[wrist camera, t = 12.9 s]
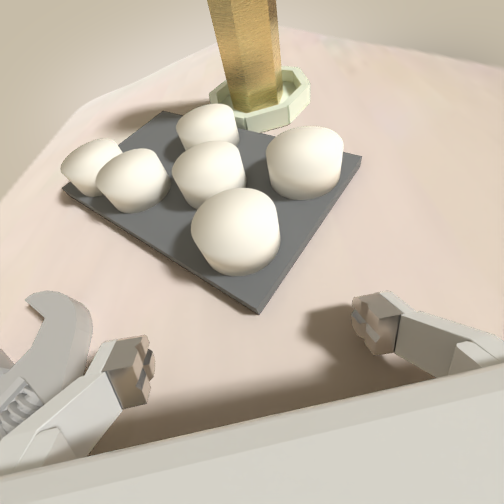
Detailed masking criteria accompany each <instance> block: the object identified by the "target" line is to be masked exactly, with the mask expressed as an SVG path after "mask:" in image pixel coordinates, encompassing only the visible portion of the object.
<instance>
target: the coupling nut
mask: <svg viewBox="0 0 504 504" xmlns="http://www.w3.org/2000/svg"><path fill="white" fill-rule="evenodd" d="M207 2H208V6H209V10H210V14H211V18H212V22H213V26H214V31H215V34H216V39H217V43H218V47H219V51H220V55H221V59H222V63H223V67H224V71H225V75H226V80H227V84H228V88H229V92H230V96H231V100H232V104H233V108H234V109H235V110H238V111H241V112H244V113H250V112H253V111H257V110H260V109H264V108H267V107H271V106H274V105H278V104H279V103H280V100H281V97H282V94H283V82H282V70H281V57H280V45H279V33H278V21H277V9H276V0H207Z"/></svg>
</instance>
